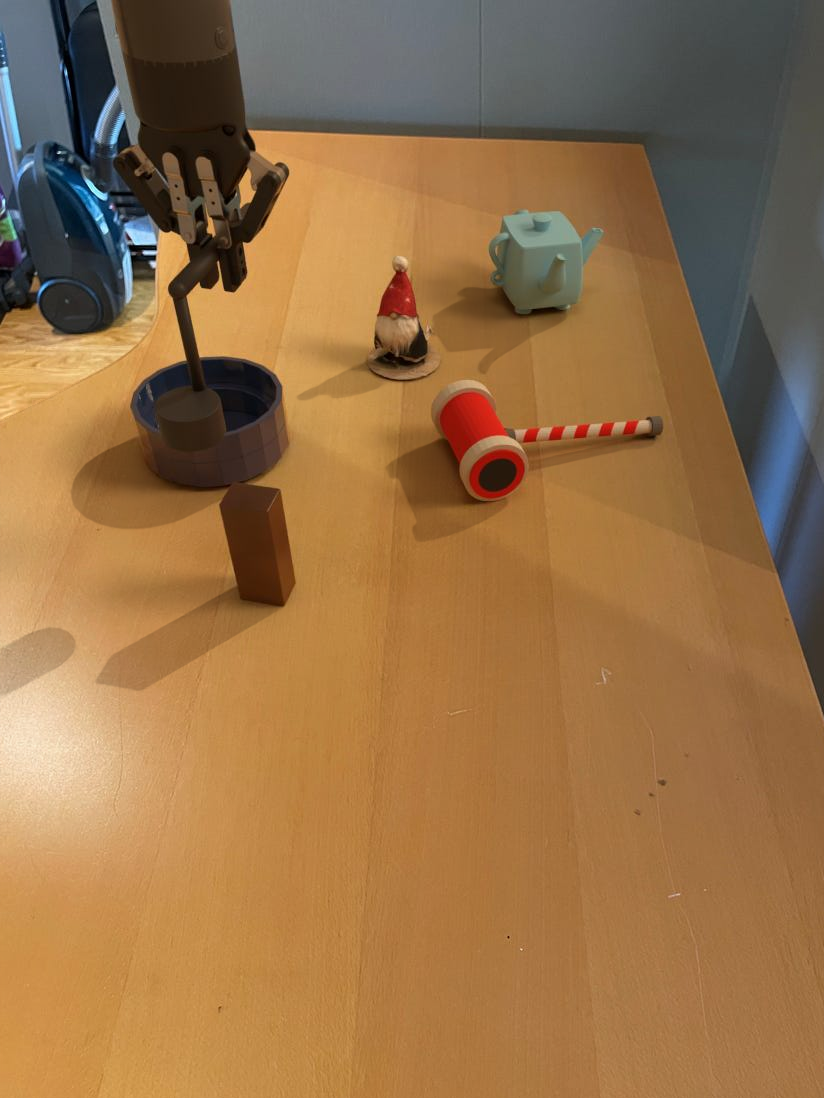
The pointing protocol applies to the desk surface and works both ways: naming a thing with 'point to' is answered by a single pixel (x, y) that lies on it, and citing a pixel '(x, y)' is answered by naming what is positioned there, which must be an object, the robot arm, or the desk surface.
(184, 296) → the ladle
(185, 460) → the bowl
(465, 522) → the desk surface
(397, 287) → the figurine
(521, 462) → the toy hammer
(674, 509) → the desk surface
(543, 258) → the teapot
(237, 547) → the upright brown pillar
